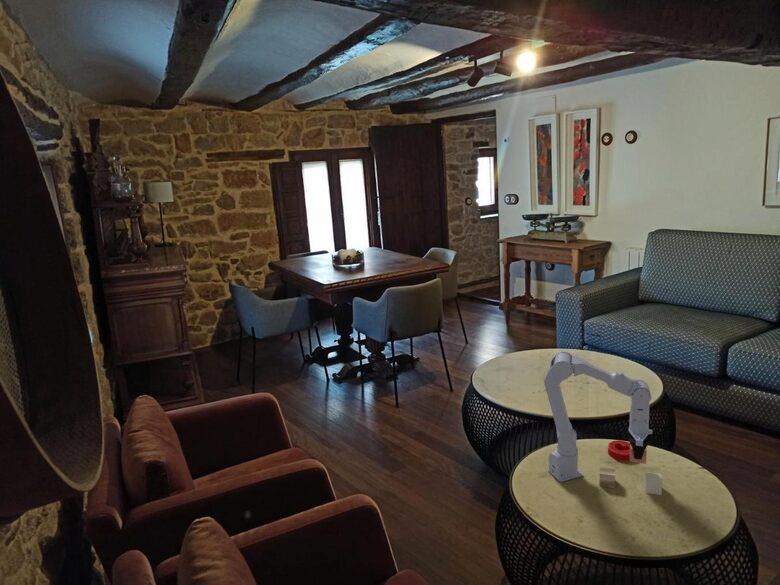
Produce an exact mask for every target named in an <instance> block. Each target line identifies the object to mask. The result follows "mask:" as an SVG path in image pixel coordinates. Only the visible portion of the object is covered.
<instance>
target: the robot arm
mask: <svg viewBox="0 0 780 585" xmlns="http://www.w3.org/2000/svg"><path fill="white" fill-rule="evenodd" d="M572 375H573V377H575V378H576V377H577V376H581V375H585V376H588V377H589V378H590V377H591V378H594V379H595V380H598V381H601V382H603V383H605V384H607V385H606V386H607V387H608V389H611V390H613V391H614V392H617V393H620V394H621V395H625V396H627V397H630V399H631V400H630V404H629V407H630V408H629V426H628V432H629V435H630V436H631V437H629V438H628V439H629V443H630V444H631V446H632V448H633V453H634V458H635V459H640V460H641V459H642V457H643V453H644V450H645V448H646V449H647V447H649V446H648V445H649V441H648V440H646V438H647V436H648V435H652V434H653V429H650V428H649V423H650V402H651V400H652V399H653V398H652V393H651V391H650V387H649V385H648V383H647V382H646V381H644V380H642V379H637V378H635V379H633V378H631V377H628V376H626V375H625V373H624V372H621V371H620V372H618V371H613V372H609V371H606V370H604V369H603V368H600V367H598V366H597V365H594V364H592V363H590V362H588V361H586V360H584V359H583V358H581V357H579V356H578V355H576V354H571V353H570V352H568V351H563V350H562V351H559V352H557V353H556V354H555V355H554V356H553V357H552V358H551V360H550V363H549V365H548V368H547V371H546V372H545V375H544V379H543V384H544V387H545V391H546V395H547V398H548V402H549V406H550V409H551V413H552V417H553V421H554V424H555V429H556V434H557V435H556V436H557V445H556V449H554V451H552V452H550V453H549V454H548V469H547V471H548V472H549V473H550V475H552V476H553V477H554V478H555V479H556V480H558V482H560V483H562V482H565V481H569V480H573V479H576V478H580V477H583V476H584V473H583V472H581V471H580V469H579V449H578V447H577V438H578V435H577V431H576V430H575V429H574V428H573V425H572V423H571V422H570V418H569V415H568V410H567V407H566V404H565V399H564V396H563V392H562V389H561V384H562V382H563V381H565V380H567V379H568V378H570V377H571V376H572Z"/></svg>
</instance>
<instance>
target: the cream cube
mask: <svg viewBox="0 0 780 585" xmlns="http://www.w3.org/2000/svg"><path fill="white" fill-rule="evenodd" d="M662 491H663V478H662V473H656V472H650V471H649V472H648V471H645V472H644V492H645V493H646V494H652V495H659V496H662Z"/></svg>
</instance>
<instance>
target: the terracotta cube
mask: <svg viewBox="0 0 780 585" xmlns="http://www.w3.org/2000/svg"><path fill="white" fill-rule="evenodd" d="M647 451H648V450H647V447H646V448H645V450H644V453H643V457H642V459H641V460H640V459H635V458H634V453H633V448H632V446H631V444H630V461H629V462H630V463H635V464H644V465H646V464H647V454H648V453H647Z"/></svg>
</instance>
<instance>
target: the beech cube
mask: <svg viewBox="0 0 780 585" xmlns="http://www.w3.org/2000/svg"><path fill="white" fill-rule="evenodd" d="M598 481H599V482H598V484H599V485H598V486H600V487H605V486H607V487H606V488H611V487H615V486H616V467H612V466H605V465H599V480H598Z"/></svg>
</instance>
